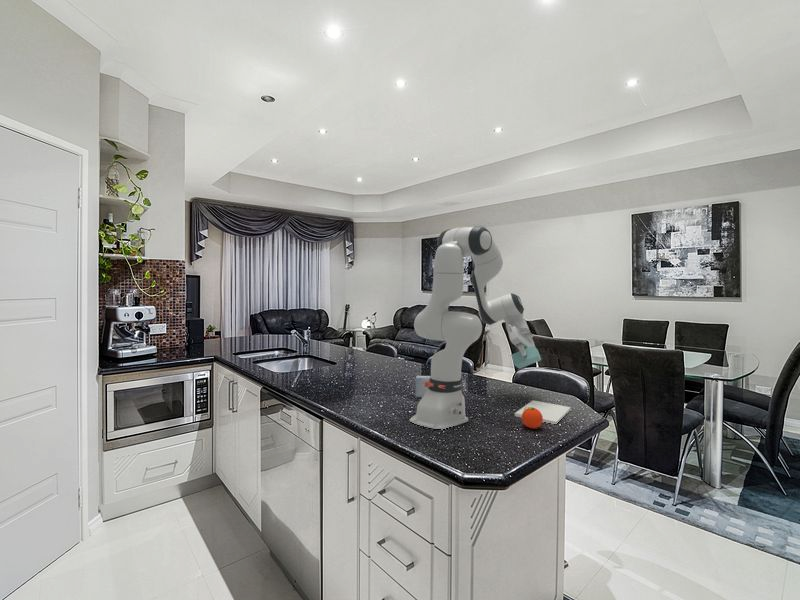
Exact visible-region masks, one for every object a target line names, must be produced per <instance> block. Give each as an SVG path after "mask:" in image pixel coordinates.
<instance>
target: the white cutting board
mask: <svg viewBox="0 0 800 600" xmlns="http://www.w3.org/2000/svg"><path fill="white" fill-rule="evenodd" d="M526 407H533V408H536V409H538V410H539V411H540V412H541V414H542V417H543V421H542V423H544V422H546V423H545V424H548V423H551V424H550V425H553V424H557V423H558V422H559V421H560V420H561V419H562V418H563V417H564V416H565V415H566V414H567V415H568V413H570V411H571V406H566V405H560V404H555V403H549V402H544V401H538V400H533V399H532V400H531V401H529V402H528V403H527V404H526V405H524V406H523V407H521V408H520V409H519V410H517V411H516V412H514V418H515V417H517V418H521V419H522V413H523V412H524V408H525V409H527V408H526ZM567 415H566V416H567ZM566 416H565V417H566ZM565 417H564V418H565ZM564 418H563V419H564ZM563 419H562V420H563ZM562 420H561V421H562ZM561 421H560V422H561ZM560 422H559V423H560ZM559 423H558V424H559ZM558 424H557V425H558Z"/></svg>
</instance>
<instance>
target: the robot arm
mask: <svg viewBox="0 0 800 600" xmlns="http://www.w3.org/2000/svg"><path fill="white" fill-rule="evenodd" d="M464 257H466V258H467V257H471V259H472V262H473V264H474V271H473V272H472V274H471V280H472V286H473V290H474V294H475V298H476V303H477V306H478V316H477V315H476V314H473V313H468V312H463V311H449V307H450V304H451V303H454V302H455V301H457V300H459V299H460V298H461V297H462V295H463V294H464V275H465V274H464V270H465V269H464V268H465V267H464ZM433 261H434V262H433V273H432V274H433V276H432V277H433V278H432V289H431V296H430V299H429V301H428V303H427V305H426V306H425V308H423V309H422V310H421V311H420V312H418V314H417V315H416V316H415V319H414V322H413V328H414V332H415V334H416V335H417V336H418V337H421V338H423V339H426V340H431V341H443V342H445V347H444V349H443V348H442V349H441V350H438V351H437V352H435V353H434V354H433V355H432V357H431V360H430V361H431V362H430V376H431V377H430V379H429V382H428V381H425V383H424V386H425V387H428V390H427V392H426V393H425V394H424V396H423V397H421V399H420V400H419V402H418V403H417V405H416V413H415V415H413V416H411V418H409V420H408V421H410V422H412V423H414V424H417V425H420V426H424V427H428V428H433V429H441V430H440V431H444V430H443V429H445V430H447V429H446V428H448V429H450V428H449V427H451V428H453V426H454V427H456V426H459V425H462V424H464V423H467V422H469V418H468V416H466V403H465V402H466V400H465V396H464V395H463V392H462V389H463V381H462V380H463V379H462V365H463V358H464V355H465V353H466V351H467V350H468V348H469V347H470V346H471V345H472V344H473V343H475V342H476V341H477V340H478V339H479V338H480V337H481V335H482V332H483V324H486V325H489V326H492V325H494V324H496V323H497V322H500V321H504V323H505V328H506V332H507V333H508V337H509V340H510V342H511V344H512V345H514V347H516V348H517V349H518V351H520V352H521V354H522V356H523V357H525V356H527V353H526V351H525V349H526V348H528V347H531V346H534V347H535V348H536V345H535V342H534V341H535V340H534V339H533V337H534V336H533V335H534V334H533V333H532V332H531V330H530V328H529V325H528V323H527V321H526V319H525V318H524V310H525V309H524V306H523V303H522V300H521V298H520V296H519V295H518V294H516V293H513V292H510V293H507V294H504V295H502V296H499V297H497V298H493V299H492V300H487V298H486V293H485V287H486V286H487V284H489V282H491V281H492V279H494V278H496V276H498V274H499V273H500V271H501V270H502V267H503V265H504V261H503V257H502V254H501V252H500V249H499V247H498V245H497V243H496V241H495V239H494V238H493V236H492V234H491V232H490V231H489V229H487V228H486V227H484V226H479V225H478V226H477V225H476V226H460V227H455V228H449V229H445V230H444V231H442V232H441V233H440V234H439V236H438V239H437V249H436V251H435V256H434V260H433ZM482 323H483V324H482ZM410 422H409V423H410ZM412 423H411V424H412ZM414 424H413V425H414ZM417 425H416V426H417ZM420 426H419V427H420ZM428 428H427V429H428ZM433 429H432V430H433Z"/></svg>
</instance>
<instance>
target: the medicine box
mask: <svg viewBox="0 0 800 600" xmlns="http://www.w3.org/2000/svg"><path fill="white" fill-rule="evenodd" d="M430 377H431V375H416V376H415V396H414V397H415V398H422V397H423V396H424V394H425V393H426V392H427V390H428V387H425V386H424V383H425V381H428V382H429V379H430Z"/></svg>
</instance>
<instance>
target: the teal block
mask: <svg viewBox="0 0 800 600" xmlns="http://www.w3.org/2000/svg"><path fill="white" fill-rule="evenodd" d="M525 351H526V353H527V356H525V357H523V356H522V354H521V352H520V350H518V351H517V352H515V353H512V354H510V356H511V359H512V362H513V364H514V366H515V367H516V368H518V370H520V369H522V368H525V367H528V366H530V365H533V364H535V363H538V362H540V361H542V358H541V355H540V352H539V349H538V348H537V347H536V346H535V347H534V346H531V347H528V348H526V349H525Z"/></svg>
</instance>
